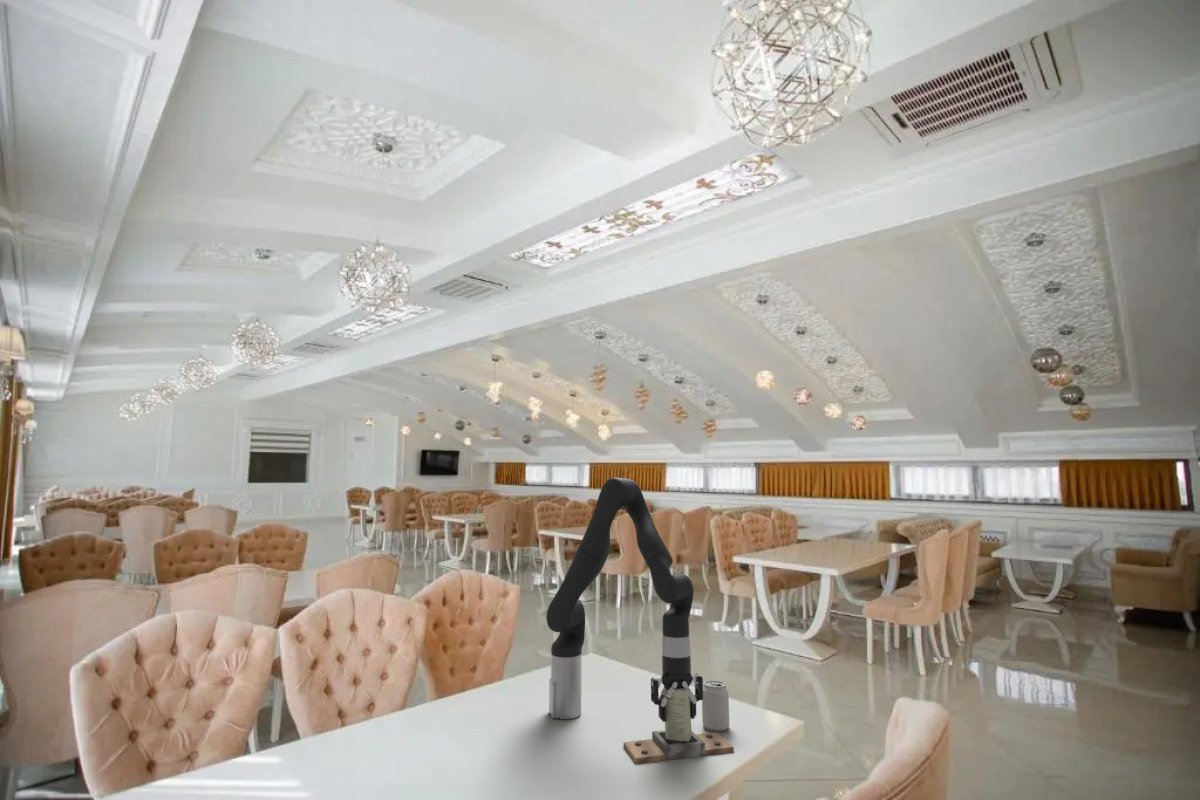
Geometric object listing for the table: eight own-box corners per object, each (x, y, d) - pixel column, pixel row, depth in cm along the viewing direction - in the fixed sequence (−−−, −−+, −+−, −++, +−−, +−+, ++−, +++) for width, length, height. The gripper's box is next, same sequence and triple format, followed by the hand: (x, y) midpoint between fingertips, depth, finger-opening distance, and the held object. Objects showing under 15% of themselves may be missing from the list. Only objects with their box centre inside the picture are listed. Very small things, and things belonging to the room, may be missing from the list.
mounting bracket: (635, 764, 146) (635, 750, 146) (623, 746, 155) (623, 734, 156) (734, 752, 152) (733, 739, 153) (716, 736, 162) (715, 724, 163)
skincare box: (692, 736, 155) (690, 686, 157) (688, 742, 151) (687, 691, 153) (667, 732, 157) (666, 683, 159) (664, 739, 153) (663, 688, 155)
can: (729, 733, 164) (728, 687, 166) (702, 731, 165) (701, 685, 167) (729, 723, 171) (728, 679, 173) (703, 721, 173) (701, 677, 175)
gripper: (695, 647, 163) (697, 711, 160) (645, 651, 159) (646, 716, 157) (707, 654, 156) (709, 721, 153) (655, 658, 152) (656, 727, 150)
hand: (677, 719), depth 155 cm, fingers closed on skincare box, 7 cm apart
